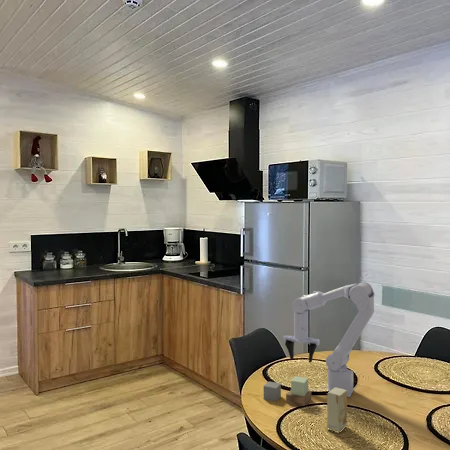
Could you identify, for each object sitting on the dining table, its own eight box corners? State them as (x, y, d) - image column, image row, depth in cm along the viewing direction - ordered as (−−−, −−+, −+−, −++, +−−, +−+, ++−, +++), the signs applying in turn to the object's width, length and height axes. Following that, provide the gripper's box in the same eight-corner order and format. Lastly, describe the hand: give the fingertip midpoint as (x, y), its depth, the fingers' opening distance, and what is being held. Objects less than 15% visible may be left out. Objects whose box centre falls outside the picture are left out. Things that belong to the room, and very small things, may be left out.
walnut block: (311, 400, 169) (311, 391, 169) (304, 407, 163) (304, 398, 163) (293, 396, 173) (293, 387, 173) (286, 403, 167) (286, 394, 167)
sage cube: (308, 391, 169) (308, 378, 169) (304, 396, 165) (304, 382, 165) (294, 389, 171) (294, 376, 171) (291, 394, 167) (291, 380, 167)
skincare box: (339, 434, 143) (339, 396, 143) (326, 430, 146) (326, 392, 146) (347, 426, 149) (347, 389, 148) (334, 422, 151) (335, 386, 151)
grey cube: (280, 396, 173) (280, 383, 172) (276, 401, 168) (276, 388, 168) (268, 394, 175) (268, 381, 175) (263, 399, 170) (263, 386, 170)
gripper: (280, 327, 184) (280, 360, 184) (316, 331, 178) (316, 366, 178) (286, 323, 190) (286, 355, 191) (320, 327, 184) (320, 360, 185)
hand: (301, 360), depth 185 cm, fingers open, 7 cm apart
